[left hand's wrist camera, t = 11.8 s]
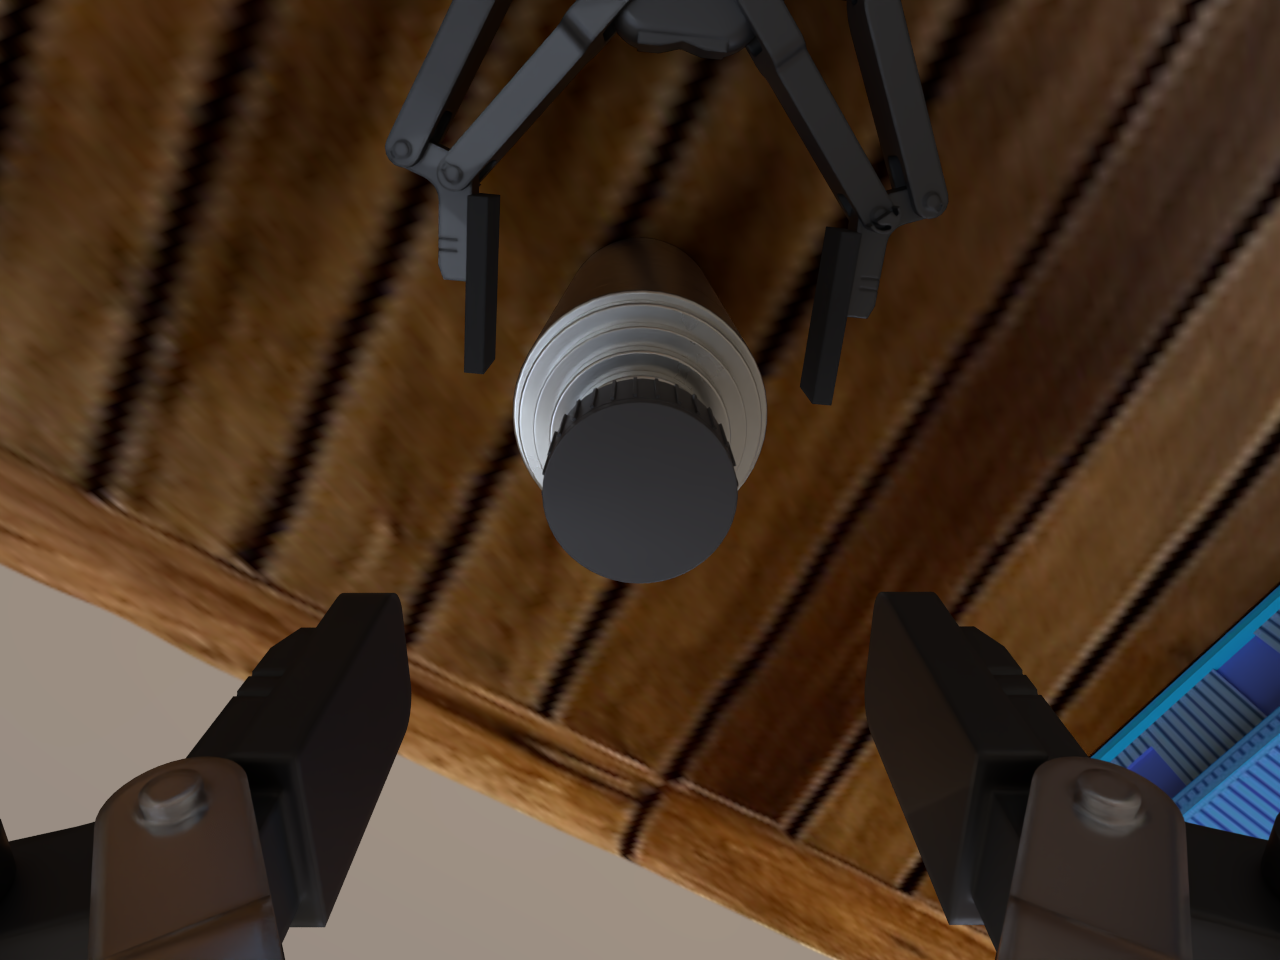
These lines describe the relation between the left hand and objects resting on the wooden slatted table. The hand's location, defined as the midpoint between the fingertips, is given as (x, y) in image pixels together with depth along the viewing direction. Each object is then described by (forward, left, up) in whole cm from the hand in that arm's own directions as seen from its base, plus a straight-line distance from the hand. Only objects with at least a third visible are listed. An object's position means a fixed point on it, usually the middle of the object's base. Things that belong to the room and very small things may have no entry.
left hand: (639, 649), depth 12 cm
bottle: (0, 0, -29) cm, 29 cm away
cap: (0, 0, -6) cm, 6 cm away
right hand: (+1, -1, -23) cm, 23 cm away
